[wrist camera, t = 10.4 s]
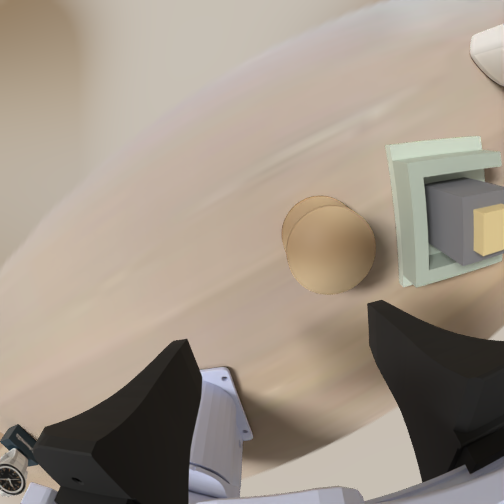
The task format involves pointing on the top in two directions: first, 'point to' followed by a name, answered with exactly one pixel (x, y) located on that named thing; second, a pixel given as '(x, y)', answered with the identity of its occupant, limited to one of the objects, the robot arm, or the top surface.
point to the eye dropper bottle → (489, 52)
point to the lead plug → (465, 219)
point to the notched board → (414, 202)
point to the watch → (16, 461)
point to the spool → (327, 245)
